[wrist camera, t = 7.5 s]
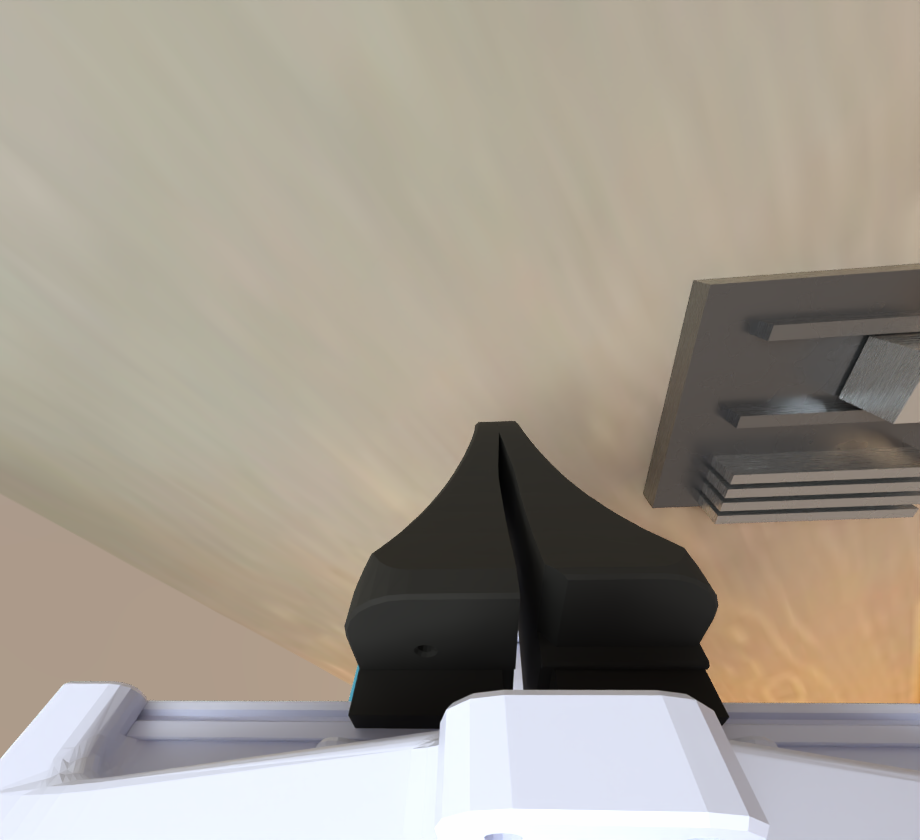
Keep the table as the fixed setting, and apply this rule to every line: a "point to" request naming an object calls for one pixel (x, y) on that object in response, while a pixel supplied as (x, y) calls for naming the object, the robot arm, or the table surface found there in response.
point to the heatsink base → (786, 401)
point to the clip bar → (887, 378)
